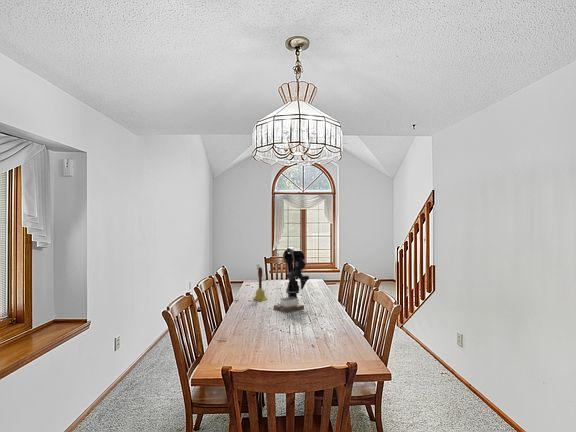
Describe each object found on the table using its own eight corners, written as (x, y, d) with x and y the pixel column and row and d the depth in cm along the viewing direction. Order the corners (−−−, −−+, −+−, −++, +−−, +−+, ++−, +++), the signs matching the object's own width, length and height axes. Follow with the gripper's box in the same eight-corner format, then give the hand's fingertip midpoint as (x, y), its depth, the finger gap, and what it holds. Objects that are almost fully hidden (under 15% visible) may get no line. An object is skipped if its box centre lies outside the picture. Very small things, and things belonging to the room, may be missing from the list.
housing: (292, 303, 279) (292, 296, 280) (297, 305, 275) (297, 298, 275) (280, 305, 274) (280, 298, 274) (285, 307, 269) (285, 299, 269)
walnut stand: (273, 308, 274) (273, 305, 274) (290, 305, 285) (290, 302, 285) (287, 312, 264) (287, 308, 264) (304, 308, 274) (304, 305, 274)
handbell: (253, 301, 299) (253, 268, 299) (251, 298, 311) (251, 266, 311) (269, 300, 302) (269, 268, 302) (266, 297, 314) (266, 266, 314)
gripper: (280, 266, 288) (280, 288, 288) (298, 269, 274) (298, 291, 274) (292, 265, 296) (292, 286, 296) (309, 268, 282) (309, 289, 282)
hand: (297, 288), depth 287 cm, fingers open, 9 cm apart
